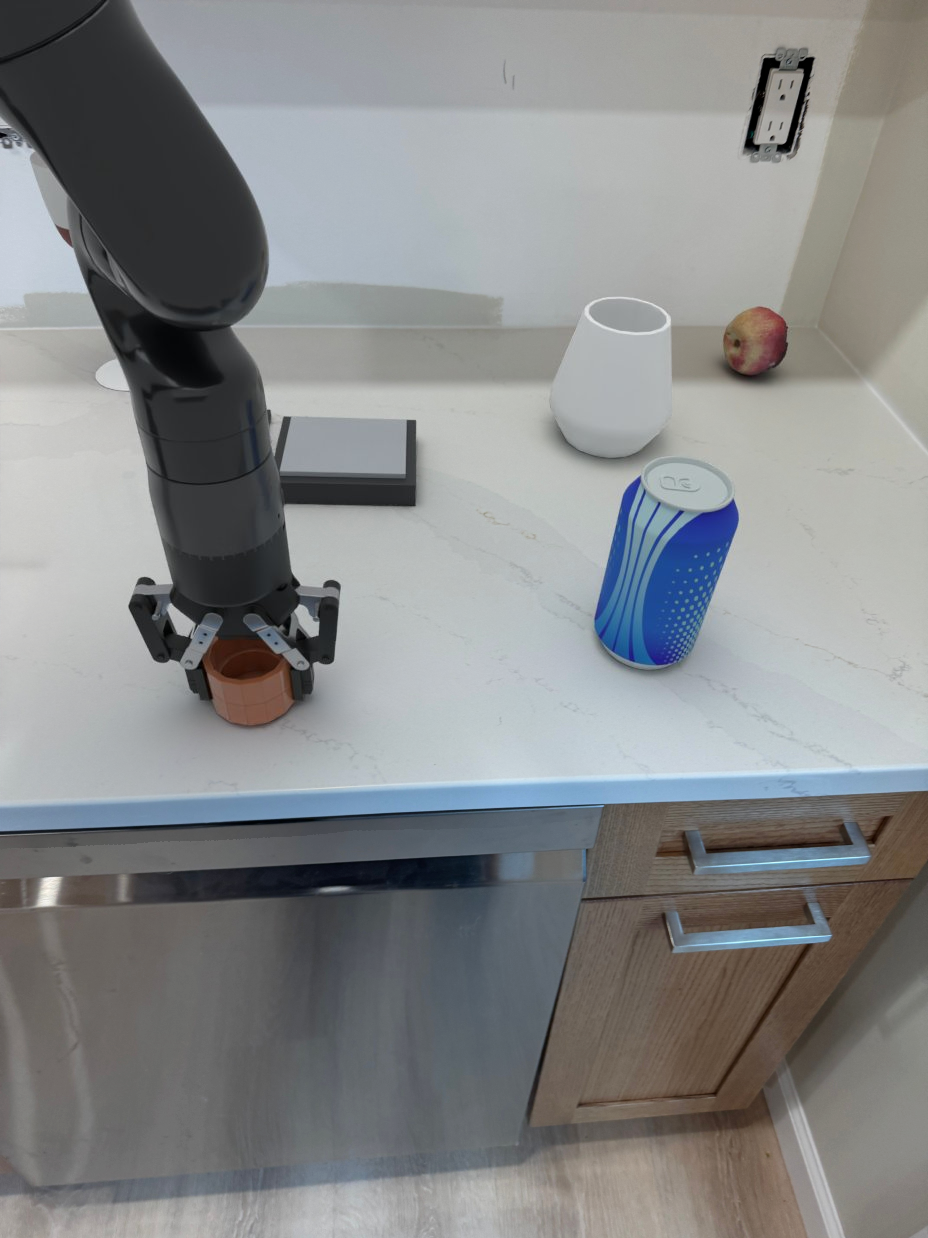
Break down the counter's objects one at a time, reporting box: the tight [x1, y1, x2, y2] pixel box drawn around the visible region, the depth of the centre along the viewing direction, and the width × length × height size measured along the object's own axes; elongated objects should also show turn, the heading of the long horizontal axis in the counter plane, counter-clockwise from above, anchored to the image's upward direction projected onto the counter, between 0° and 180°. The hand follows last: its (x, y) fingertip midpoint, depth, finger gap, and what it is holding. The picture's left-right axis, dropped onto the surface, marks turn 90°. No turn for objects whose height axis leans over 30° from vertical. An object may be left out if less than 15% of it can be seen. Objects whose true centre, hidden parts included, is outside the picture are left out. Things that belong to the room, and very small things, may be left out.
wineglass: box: [29, 150, 130, 392], centre depth 88 cm, size 9×10×23 cm
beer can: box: [593, 455, 740, 671], centre depth 63 cm, size 8×8×16 cm
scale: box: [274, 415, 417, 507], centre depth 83 cm, size 14×12×3 cm
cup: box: [548, 296, 673, 459], centre depth 87 cm, size 13×13×14 cm
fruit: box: [722, 305, 789, 376], centre depth 102 cm, size 8×8×8 cm
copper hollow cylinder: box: [202, 636, 295, 727], centre depth 60 cm, size 6×6×5 cm
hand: (255, 691), depth 62 cm, fingers closed on copper hollow cylinder, 6 cm apart
